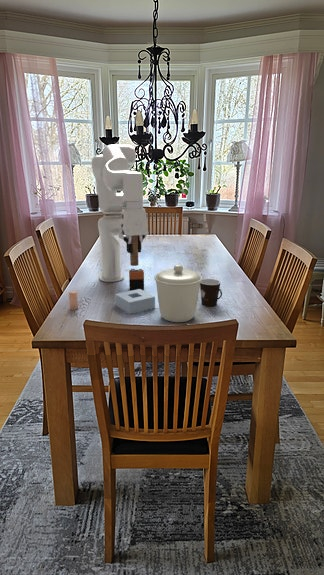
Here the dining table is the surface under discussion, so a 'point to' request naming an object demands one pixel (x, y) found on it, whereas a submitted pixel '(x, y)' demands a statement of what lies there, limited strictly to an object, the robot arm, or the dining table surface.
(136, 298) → the hole block
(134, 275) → the battery
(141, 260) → the dining table surface
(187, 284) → the canister
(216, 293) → the coffee mug
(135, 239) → the long dowel
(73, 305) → the short dowel
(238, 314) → the dining table surface
